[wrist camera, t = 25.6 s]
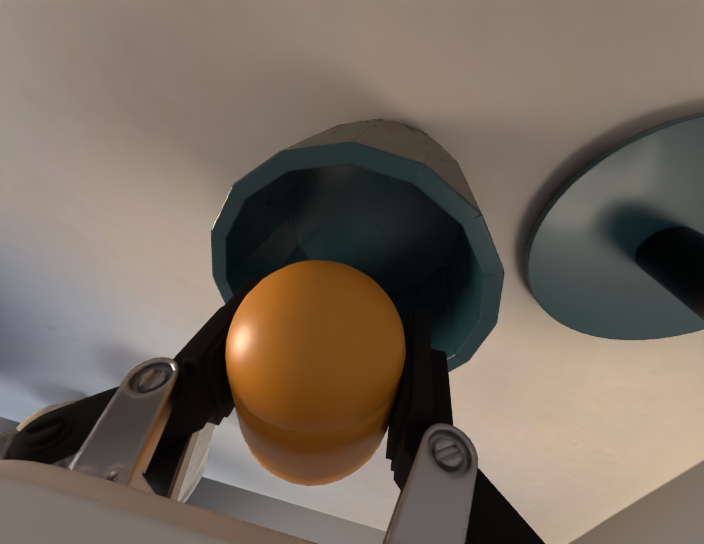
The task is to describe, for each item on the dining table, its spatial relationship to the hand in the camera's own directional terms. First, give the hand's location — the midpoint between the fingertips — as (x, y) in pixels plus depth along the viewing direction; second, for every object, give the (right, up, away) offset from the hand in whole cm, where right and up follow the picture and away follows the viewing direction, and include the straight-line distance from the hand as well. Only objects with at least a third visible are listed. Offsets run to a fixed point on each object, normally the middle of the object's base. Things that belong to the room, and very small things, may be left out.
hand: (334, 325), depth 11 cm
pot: (+2, +5, +8) cm, 10 cm away
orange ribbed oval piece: (0, 0, 0) cm, 0 cm away
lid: (+18, +4, +5) cm, 19 cm away
